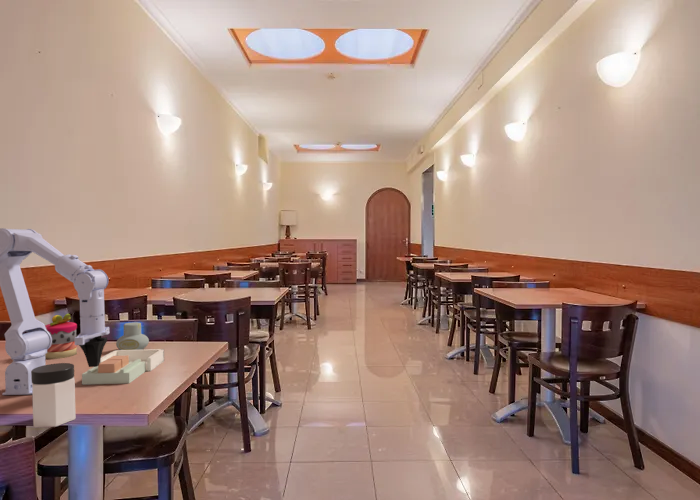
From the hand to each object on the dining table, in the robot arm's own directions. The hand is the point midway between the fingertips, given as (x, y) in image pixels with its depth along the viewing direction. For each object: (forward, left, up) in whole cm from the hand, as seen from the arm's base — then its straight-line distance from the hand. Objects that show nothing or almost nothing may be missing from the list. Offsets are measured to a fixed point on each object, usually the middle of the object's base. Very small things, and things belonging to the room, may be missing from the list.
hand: (93, 366), depth 124 cm
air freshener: (+47, +9, -7) cm, 48 cm away
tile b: (+14, 0, -4) cm, 15 cm away
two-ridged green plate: (+13, 0, -7) cm, 14 cm away
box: (+25, 0, -7) cm, 25 cm away
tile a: (+9, 0, -4) cm, 10 cm away
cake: (+42, +32, -7) cm, 53 cm away
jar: (-20, -1, -7) cm, 21 cm away
